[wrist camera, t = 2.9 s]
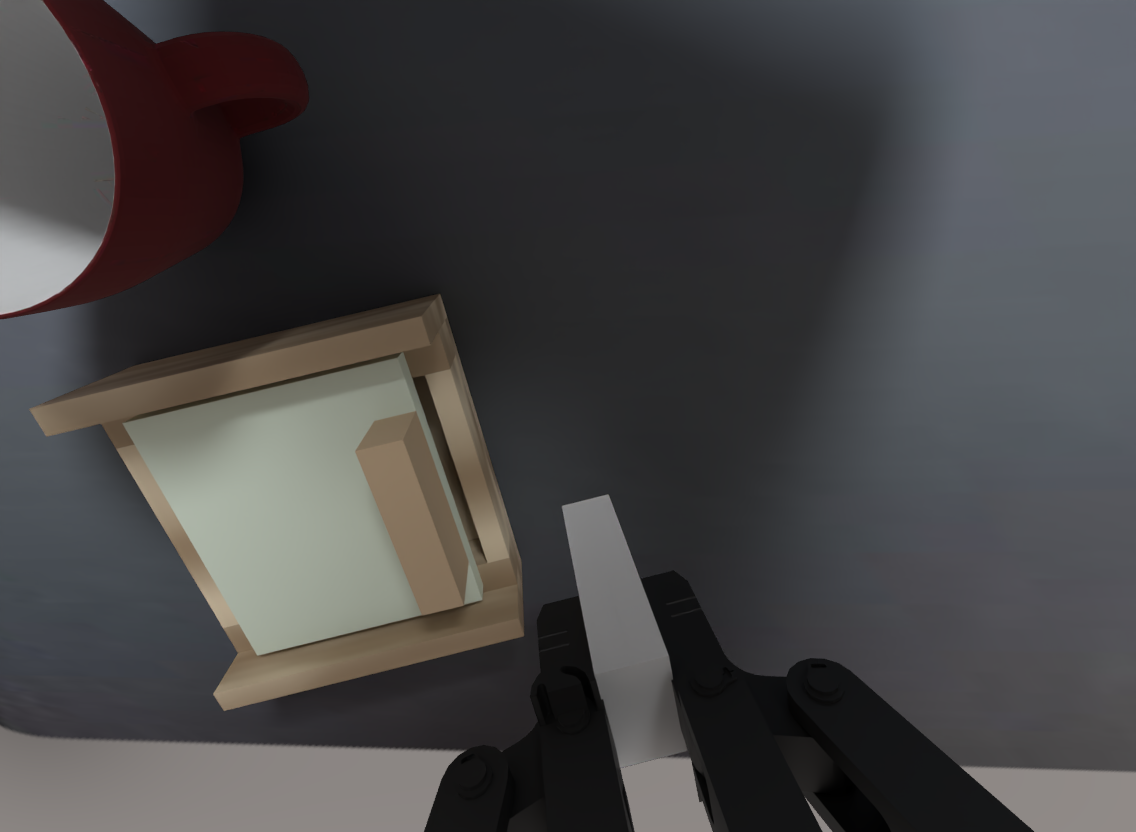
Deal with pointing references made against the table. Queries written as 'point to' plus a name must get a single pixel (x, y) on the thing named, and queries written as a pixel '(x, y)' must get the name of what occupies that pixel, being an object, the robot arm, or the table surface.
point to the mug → (121, 146)
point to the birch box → (301, 353)
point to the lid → (315, 502)
